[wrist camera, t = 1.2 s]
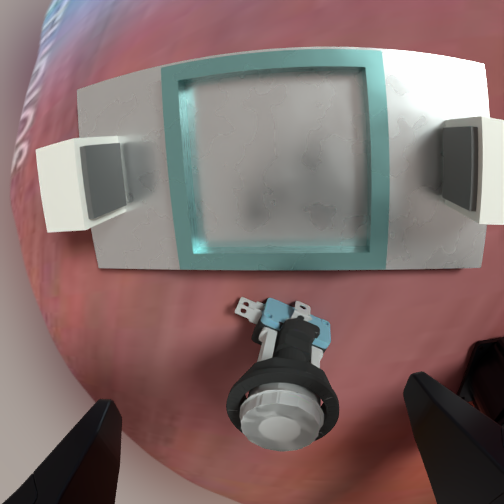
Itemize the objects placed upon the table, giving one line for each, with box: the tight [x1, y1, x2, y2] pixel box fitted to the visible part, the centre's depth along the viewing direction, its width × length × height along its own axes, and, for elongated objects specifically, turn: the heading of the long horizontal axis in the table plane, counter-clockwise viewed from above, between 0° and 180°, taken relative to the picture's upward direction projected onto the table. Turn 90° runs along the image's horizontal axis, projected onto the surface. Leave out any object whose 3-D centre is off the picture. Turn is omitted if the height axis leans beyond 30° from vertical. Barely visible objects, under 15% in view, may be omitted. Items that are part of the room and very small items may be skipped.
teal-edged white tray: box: [77, 47, 490, 270], centre depth 18 cm, size 13×26×3 cm, turn 94°
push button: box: [226, 297, 339, 451], centre depth 18 cm, size 7×5×10 cm
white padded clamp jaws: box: [36, 116, 504, 232], centre depth 15 cm, size 5×26×4 cm, turn 94°
